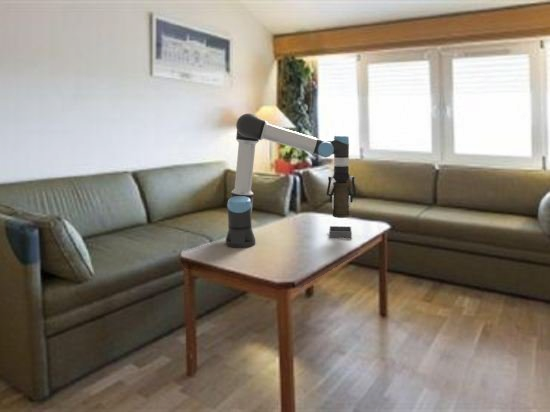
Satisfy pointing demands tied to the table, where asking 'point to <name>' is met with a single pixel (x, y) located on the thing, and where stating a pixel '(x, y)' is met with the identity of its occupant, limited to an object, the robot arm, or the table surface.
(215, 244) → the table surface
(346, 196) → the container
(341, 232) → the tray
